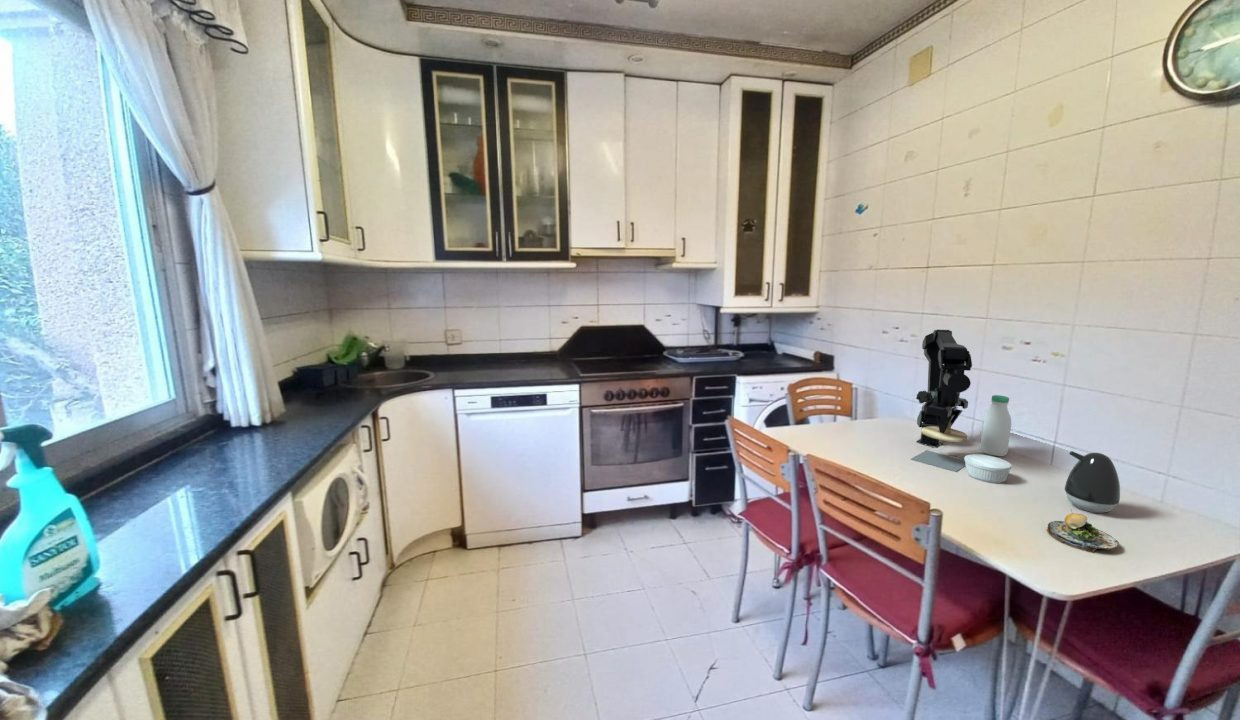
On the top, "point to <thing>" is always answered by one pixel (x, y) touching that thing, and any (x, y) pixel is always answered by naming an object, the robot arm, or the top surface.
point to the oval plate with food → (1080, 534)
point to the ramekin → (987, 468)
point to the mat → (940, 460)
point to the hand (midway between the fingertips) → (944, 431)
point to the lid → (945, 434)
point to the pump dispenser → (1093, 483)
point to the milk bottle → (996, 428)
